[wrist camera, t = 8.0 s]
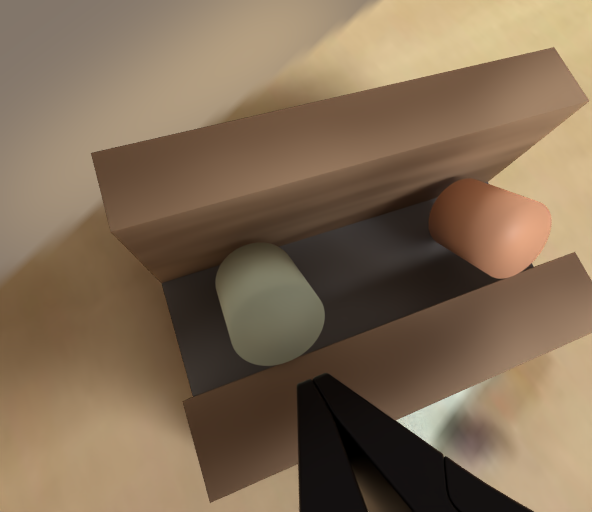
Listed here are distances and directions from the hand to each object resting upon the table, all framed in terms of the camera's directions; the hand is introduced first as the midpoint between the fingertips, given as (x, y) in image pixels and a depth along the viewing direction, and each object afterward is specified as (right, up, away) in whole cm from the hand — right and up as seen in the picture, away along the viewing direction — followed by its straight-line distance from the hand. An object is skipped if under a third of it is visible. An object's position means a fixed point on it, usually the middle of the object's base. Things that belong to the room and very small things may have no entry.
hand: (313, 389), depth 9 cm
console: (+2, +1, +10) cm, 10 cm away
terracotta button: (+7, +4, +7) cm, 11 cm away
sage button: (-2, +1, +5) cm, 6 cm away
